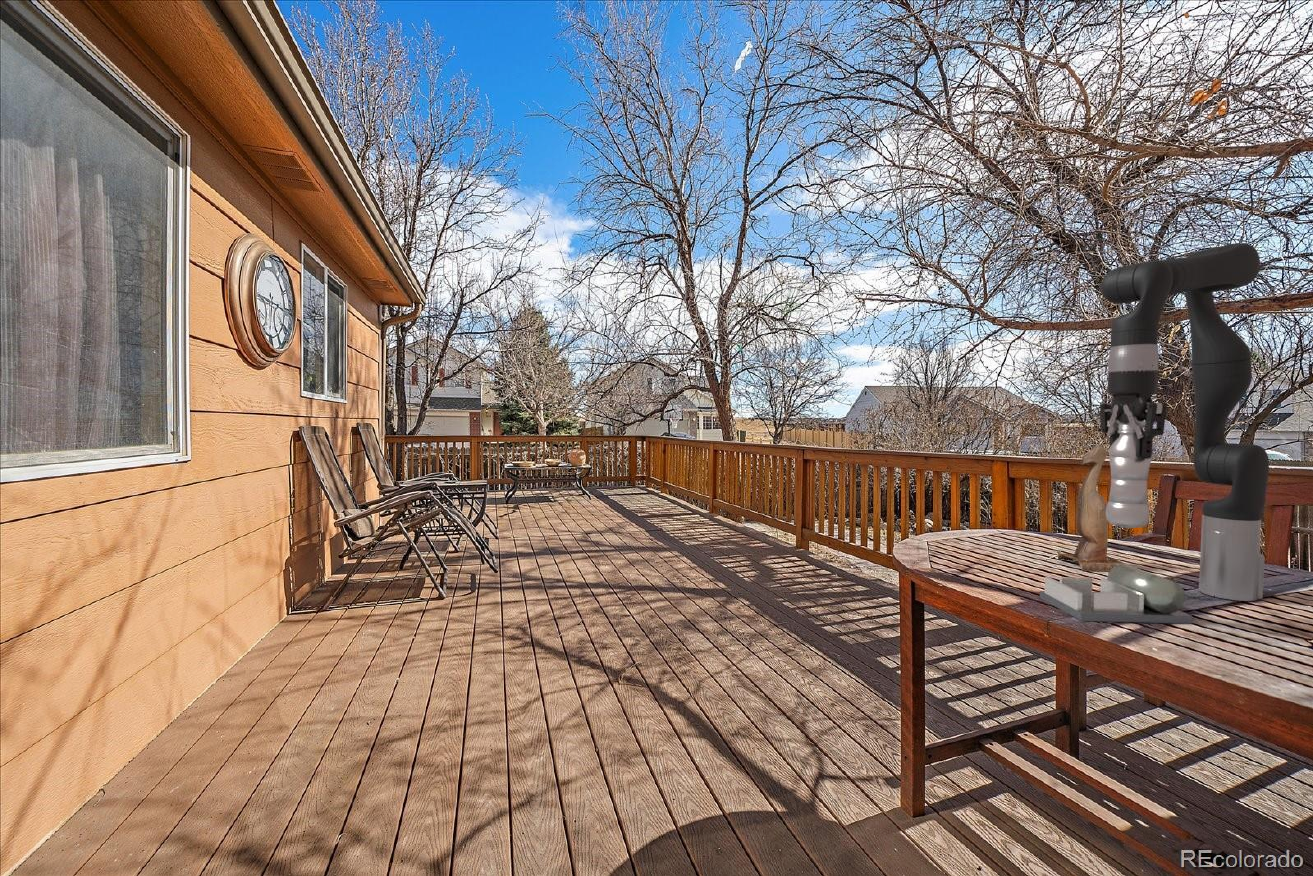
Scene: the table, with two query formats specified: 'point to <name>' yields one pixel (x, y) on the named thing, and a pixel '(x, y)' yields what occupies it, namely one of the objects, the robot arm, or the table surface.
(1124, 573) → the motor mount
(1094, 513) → the bird sculpture
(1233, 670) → the table surface
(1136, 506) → the plastic bottle
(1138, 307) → the robot arm
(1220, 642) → the table surface
